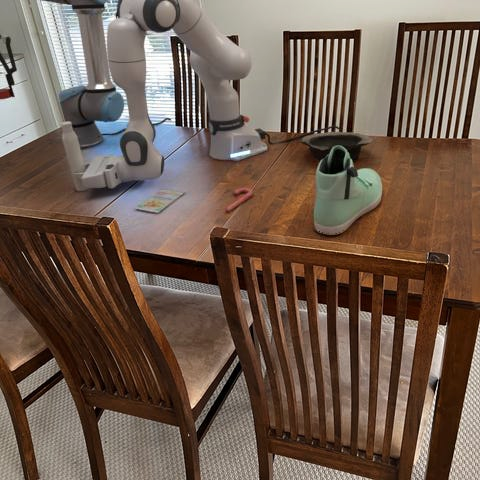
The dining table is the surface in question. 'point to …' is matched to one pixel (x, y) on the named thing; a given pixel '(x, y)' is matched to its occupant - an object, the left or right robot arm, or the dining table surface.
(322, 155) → the stone bowl
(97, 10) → the left robot arm
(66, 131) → the bottle
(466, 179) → the dining table surface
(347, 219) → the sneaker
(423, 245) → the dining table surface
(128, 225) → the dining table surface
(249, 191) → the candy cane
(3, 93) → the cap
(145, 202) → the baking ingredient package
